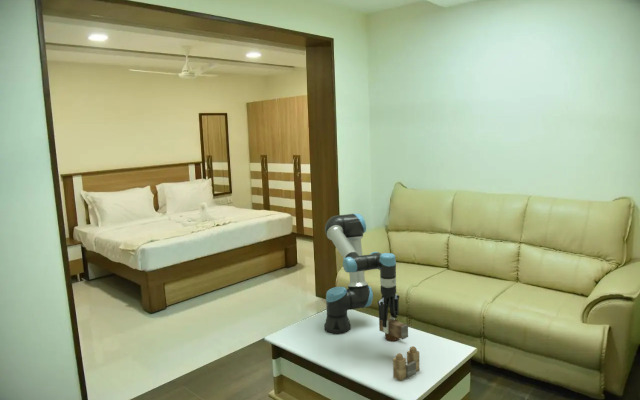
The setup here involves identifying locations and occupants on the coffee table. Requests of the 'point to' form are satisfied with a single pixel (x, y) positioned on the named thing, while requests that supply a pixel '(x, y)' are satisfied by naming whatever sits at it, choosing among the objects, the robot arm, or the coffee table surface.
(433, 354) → the coffee table surface
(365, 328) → the coffee table surface
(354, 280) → the robot arm
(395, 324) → the rail
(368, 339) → the coffee table surface
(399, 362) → the knobbed wooden twin blocks
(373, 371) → the coffee table surface
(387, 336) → the mug
